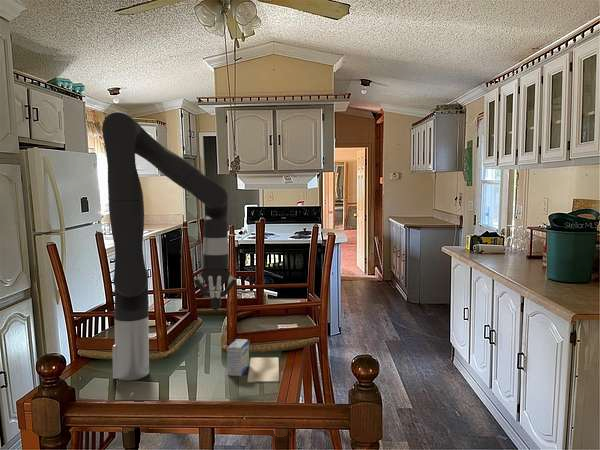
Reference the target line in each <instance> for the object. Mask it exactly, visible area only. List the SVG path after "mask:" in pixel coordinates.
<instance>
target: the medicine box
mask: <svg viewBox="0 0 600 450" xmlns="http://www.w3.org/2000/svg"><path fill="white" fill-rule="evenodd" d="M249 342H250V339H245V338H243V339H242V338H240V339H239V338H235V339H234V341H232V342H231V343H230V345H228V346H227V348H226V349H227V351H226V358H227V361H226V364H227V365H226V366H227V372H226V373H227V376H232V377H243V375H244V373H246V370H247V369H249V366H250V355H249V354H250V343H249Z"/></svg>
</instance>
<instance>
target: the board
mask: <svg viewBox="0 0 600 450" xmlns="http://www.w3.org/2000/svg"><path fill="white" fill-rule="evenodd" d="M246 381H247V383H254V384H255V383H256V384H257V383H280V366H279V357H250V358H249V367H248V375H247V380H246Z"/></svg>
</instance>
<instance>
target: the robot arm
mask: <svg viewBox="0 0 600 450" xmlns="http://www.w3.org/2000/svg"><path fill="white" fill-rule="evenodd" d="M101 131H102V137H103V143H104V148H105V156H106V162H107V191H108V193H107V194H108V196H107V198H108V211H109V214H108V215H109V221H110V222H109V223H110V228H111V233H112V235H111V236H112V240H113V245H114V271H113V286H114V345H112V379H116V380H118V381H119V380H120V381H125V382H126V381H129V382H130V381H136V380H141V379H143V378H145V377H147V376H148V375H149V374H150V347H149V346H150V343H149V341H150V336H149V334H150V333H149V331H150V330H149V329H150V328H149V325H150V324H149V274H148V270H147V268H146V263H145V255H144V249H143V248H144V247H143V244H144V243H143V241H144V232H145V231H144V229H145V206H144V205H145V204H144V203H145V201H144V194H143V193H144V192H143V188H142V184H141V181H140V177H139V174H138V170H137V163H136V155H138V156H139V157H141V158H143V159H144V160H145V161H147V162H148V163H150V164H151V165H153V167H154V168H156V169H157V170H158V171H160V173H161V174H163V175H164V176H165V177H167V178H168V179H170V180H171V181H172V182H173V183H175V184H176V185H178V186H179V187H180V188H182V189H184V190H185V191H187V192H189V193H191V194H192V195H193V196H194V197H195V198H196V199H197V200H199V201H200V202H201V203H203V204H204V221H203V241H202V271H201V272H200V275H199V276H198V277H196V278H195V279H194V281H193V283H194V284H195V285H196V286H197V289H199V291H200V292H201V293H202V294H203V295H204V296H205V297H209V299H210V309H212V311H219V309H220V308H221V307H222V297H226V296H227V295H228V293H229V292H230V291H231V290H232V288H233V287H234V286H235V285H236V283H237V281H238V279H237V278H236V277H234V276H232V275H231V272H230V269H229V268H230V267H229V257H230V256H229V251H230V247H229V239H228V238H229V237H228V236H229V235H228V234H229V233H228V231H229V230H228V228H229V226H228V201H229V196H228V194H229V193H228V192H227V190H226V188H225V187H224V186H222V185H220V184H219V183H217V182H216V181H214V180H213V179H211V178H210V177H208V176H206V175H205V174H203V173H202V172H201V170H200V169H198V168H197V167H195V166H194V165H192V164H191V162H188V161H187V160H186V159H184V158H183V157H181V156H180V155H178V154H177V153H175V152H173V151H171V150H170V149H169V148H167V147H165V146H164V145H163V144H161V143H160V142H159V141H157V140H156V139H154V138H153V137H152V136H151V135H150V134H149V133H148V132H147V131H146V130H145V129H144V128H143V127H142V126H141V125H140V124H139V122H138V120H136V119H135V118H134V117H132V116H131V115H129V114H128V113H125V112H121V111H113V112H111V113H109V114H108V115H107V116H105V118H104V119H103V122H102V127H101ZM227 280H228V282H227ZM204 282H205V284H206V285H207V286H208V288H207V287H206V285H205V284H204ZM226 282H227V284H228V285H227V286H226V287H225V289H224V290H223V291H222V288H223V286H224V285H225V284H226Z"/></svg>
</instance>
